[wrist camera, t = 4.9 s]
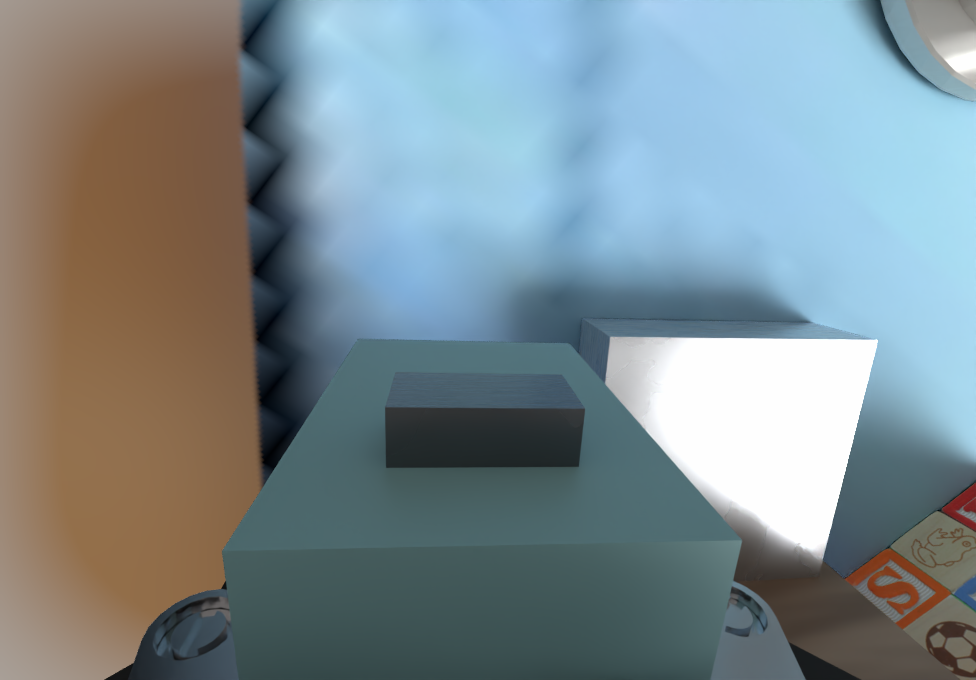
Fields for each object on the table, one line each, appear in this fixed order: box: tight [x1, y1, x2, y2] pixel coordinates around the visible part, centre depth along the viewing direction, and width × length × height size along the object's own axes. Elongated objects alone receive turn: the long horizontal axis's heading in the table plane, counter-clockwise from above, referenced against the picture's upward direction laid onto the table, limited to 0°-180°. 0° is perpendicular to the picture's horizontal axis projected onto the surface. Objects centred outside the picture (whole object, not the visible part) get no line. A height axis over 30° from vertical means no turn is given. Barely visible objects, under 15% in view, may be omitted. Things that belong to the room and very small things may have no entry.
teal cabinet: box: [222, 339, 742, 680], centre depth 9 cm, size 11×5×7 cm, turn 177°
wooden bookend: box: [579, 318, 960, 680], centre depth 15 cm, size 12×12×12 cm
